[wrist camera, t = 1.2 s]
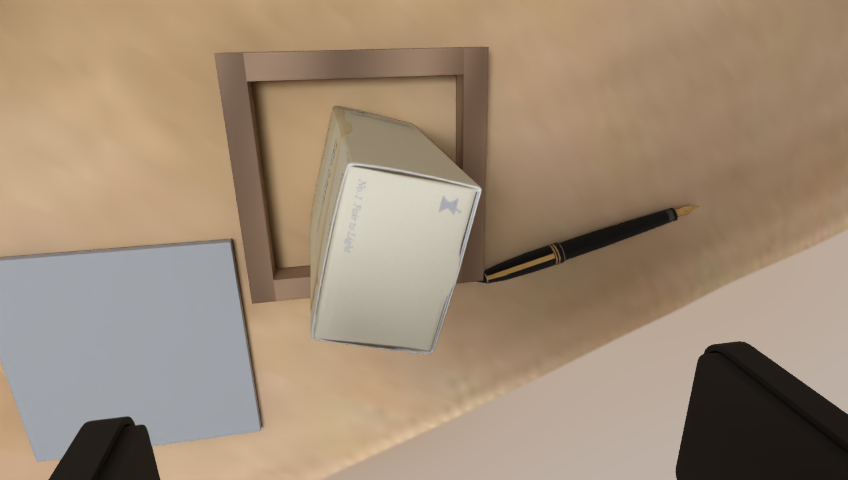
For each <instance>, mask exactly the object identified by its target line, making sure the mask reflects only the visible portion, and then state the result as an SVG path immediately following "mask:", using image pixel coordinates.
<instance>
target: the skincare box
mask: <svg viewBox="0 0 848 480" xmlns="http://www.w3.org/2000/svg"><path fill="white" fill-rule="evenodd" d="M481 191H482V189H481V187H480V186H479V185H478V184H477V183H476V182H474V181H473V180H472V179H471V178H470V177H469V176H468V175H467V174H466V173H464V172H463V171H462V170H461V169H460V168H459V167H458V166H457V165H456V164H455V163H454V162H453V161H452V160H451V159H450V158H449V157H448V156H446V155H445V154H444V153H443V152H442V151H441V150H440V149H439V148H438V147H437V146H436V145H435V144H433V143H432V142H431V141H430V140H429V139H428V138H427V137H426V136H425V135H424V134H423V133H422V132H421V131H420V130H419V129H418V128H416V127H415V126H414V125H413V124H411V123H407V122H403V121H399V120H396V119H392V118H388V117H384V116H380V115H375V114H372V113H367V112H363V111H359V110H354V109H349V108H344V107H339V106H334V107H333V109H332V114H331V119H330V123H329V128H328V132H327V137H326V141H325V146H324V151H323V155H322V160H321V165H320V170H319V175H318V180H317V186H316V191H315V196H314V202H313V207H312V212H311V232H310V267H311V272H310V279H311V338H312V339H314V340H319V341H325V342H333V343H340V344H346V345H354V346H361V347H368V348H377V349H383V350H391V351H400V352H409V353H416V354H431V353H432V352H433V351H434V349H435V347H436V344H437V341H438V338H439V334H440V331H441V328H442V325H443V322H444V319H445V315H446V312H447V309H448V306H449V303H450V300H451V297H452V294H453V290H454V287H455V284H456V281H457V278H458V274H459V270H460V267H461V263H462V259H463V256H464V253H465V249H466V246H467V242H468V238H469V234H470V231H471V227H472V224H473V220H474V216H475V213H476V209H477V205H478V202H479V199H480V195H481Z"/></svg>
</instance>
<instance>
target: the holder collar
mask: <svg viewBox="0 0 848 480" xmlns="http://www.w3.org/2000/svg"><path fill="white" fill-rule="evenodd" d="M488 48H489V47H455V48H412V49H369V50H327V51H284V52H241V53H215V61H216V68H217V74H218V81H219V87H220V94H221V101H222V107H223V114H224V120H225V127H226V134H227V140H228V147H229V153H230V160H231V167H232V173H233V180H234V186H235V193H236V200H237V206H238V213H239V219H240V226H241V232H242V239H243V246H244V252H245V259H246V265H247V272H248V279H249V285H250V292H251V298H252V304H253V303H263V302H273V301H283V300H293V299H303V298H311V279H310V272H311V267H310V266H301V267H290V268H278V269H276V268H275V261H274V253H273V245H272V238H271V230H270V222H269V215H268V207H267V199H266V192H265V184H264V176H263V169H262V161H261V153H260V146H259V138H258V130H257V123H256V115H255V107H254V100H253V92H252V84H251V81H275V80H306V79H337V78H368V77H399V76H430V75H456V165H457V166H458V167H459V168H460V169H461V170H462V171H463V172H464V173H466V174H467V175H468V176H469V177H470V178H471V179H472V180H473V181H474V182H476V183H477V184H478V185H479V186H480V187H481V189H482V191H481V195H480V199H479V202H478V205H477V209H476V213H475V216H474V220H473V224H472V227H471V231H470V234H469V238H468V242H467V246H466V249H465V253H464V256H463V259H462V263H461V267H460V270H459V274H458V278H457V281H456V283H464V282H474V281H483V271H484V227H485V182H486V137H487V93H488Z"/></svg>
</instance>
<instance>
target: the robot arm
mask: <svg viewBox="0 0 848 480" xmlns="http://www.w3.org/2000/svg"><path fill="white" fill-rule="evenodd" d="M676 478H677V480H848V414H846V413H845V412H844V411H842V410H841V409H839V408H838V407H836V406H835V405H834V404H832V403H831V402H830V401H828V400H827V399H825V398H824V397H823V396H821V395H820V394H818V393H817V392H816V391H814V390H813V389H811V388H810V387H808V386H807V385H806V384H804V383H803V382H802V381H800V380H799V379H797V378H796V377H795V376H793V375H792V374H790V373H789V372H787V371H786V370H785V369H783V368H782V367H780V366H779V365H778V364H776V363H775V362H773V361H772V360H771V359H769V358H768V357H766V356H765V355H764V354H762V353H761V352H759V351H758V350H757V349H755V348H754V347H752V346H751V345H749V344H747V343H745V342H740V341H739V342H730V343H723V344H714V345H711V346H709V347H708V348H707V349H706V350H705V352H704V354H703V355H701V356H700V357H699V359H698V363H697V367H696V372H695V377H694V381H693V386H692V392H691V396H690V401H689V406H688V411H687V416H686V421H685V426H684V431H683V436H682V441H681V445H680V450H679V455H678V460H677V465H676ZM49 480H160V477H159V473H158V469H157V465H156V461H155V457H154V453H153V449H152V445H151V441H150V437H149V433H148V430H147V428H146V426H145V425H143V424H141V425H135V423H134V421H133V419H132V418H131V417H128V416H126V417H118V418H109V419H101V420H93V421H88V422H86V423H84V425H83V426H82V427H81V428H80V430H79V432H78V433H77V435H76V436H75V438H74V440H73V441H72V443H71V444H70V446H69V448H68V449H67V451H66V453H65V454H64V456H63V457H62V459H61V461H60V462H59V464H58V465H57V467H56V469H55V470H54V472H53V474H52V475H51V477H50V478H49Z"/></svg>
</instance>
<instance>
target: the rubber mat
mask: <svg viewBox="0 0 848 480" xmlns="http://www.w3.org/2000/svg"><path fill="white" fill-rule="evenodd" d="M0 360H1V363H2V366H3V369H4V371H5V374H6V377H7V380H8V383H9V385H10V388H11V391H12V394H13V397H14V399H15V402H16V405H17V408H18V411H19V413H20V416H21V419H22V422H23V425H24V427H25V430H26V433H27V436H28V439H29V441H30V444H31V447H32V450H33V453H34V455H35V458H36V461H37V462H42V461H49V460H57V459H62V457H63V456H64V454H65V453H66V451H67V449H68V448H69V446H70V444H71V443H72V441H73V440H74V438H75V436H76V435H77V433H78V432H79V430H80V428H81V427H82V426H83V425H84V423H86V422H88V421H93V420H101V419H109V418H118V417H126V416H128V417H131V418H132V419H133V421H134V423H135V425H141V424H143V425H145V426H146V428H147V430H148V433H149V437H150V441H151V445H152V446H158V445H165V444H172V443H179V442H187V441H194V440H201V439H208V438H216V437H223V436H230V435H237V434H244V433H252V432H259V431H261V420H260V414H259V407H258V401H257V395H256V389H255V382H254V376H253V370H252V363H251V357H250V351H249V345H248V338H247V332H246V326H245V320H244V313H243V307H242V301H241V294H240V288H239V282H238V276H237V269H236V263H235V257H234V251H233V244H232V239H224V240H211V241H199V242H186V243H173V244H161V245H148V246H136V247H123V248H110V249H98V250H85V251H73V252H60V253H47V254H35V255H22V256H10V257H0Z"/></svg>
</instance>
